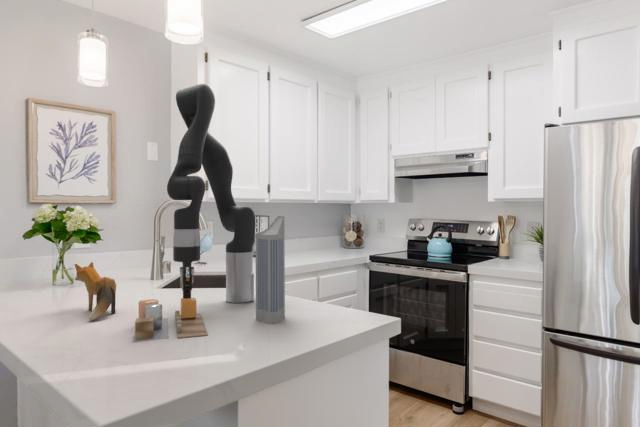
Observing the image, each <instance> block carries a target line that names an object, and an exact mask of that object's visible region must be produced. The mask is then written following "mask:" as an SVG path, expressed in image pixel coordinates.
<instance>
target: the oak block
mask: <svg viewBox="0 0 640 427" xmlns="http://www.w3.org/2000/svg"><path fill="white" fill-rule="evenodd" d="M134 323H135V324H134V328H135V330H134V333H135V339H142V338H153V336H154V317H149V318H139V317H138V318H135V321H134Z"/></svg>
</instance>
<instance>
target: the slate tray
mask: <svg viewBox="0 0 640 427" xmlns="http://www.w3.org/2000/svg"><path fill="white" fill-rule="evenodd" d="M169 331H170V330H169V317H162V329H159V330H154V336H153V338H142V339H135V332H134V334H133V338H132V343H137V342H146V341H147V342H149V341H157V340H166V339H168V340H169V339H170V336H169V334H170V333H169Z"/></svg>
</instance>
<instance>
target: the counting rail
mask: <svg viewBox="0 0 640 427" xmlns="http://www.w3.org/2000/svg"><path fill="white" fill-rule="evenodd" d="M174 318H175V328H176V335H177V339H189V338H200V337H208V336H209V335H208V331H207V328H206V326H205V323H204V320H203V317H202V314H201V313H199V312H198V313H196V317H195V318H183V319H181V310H175V311H174Z"/></svg>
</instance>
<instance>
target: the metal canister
mask: <svg viewBox="0 0 640 427" xmlns="http://www.w3.org/2000/svg"><path fill="white" fill-rule="evenodd" d="M149 317H154V330H159V329H162V318H163V304H162V303H158V304H149V305H146V318H149Z"/></svg>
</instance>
